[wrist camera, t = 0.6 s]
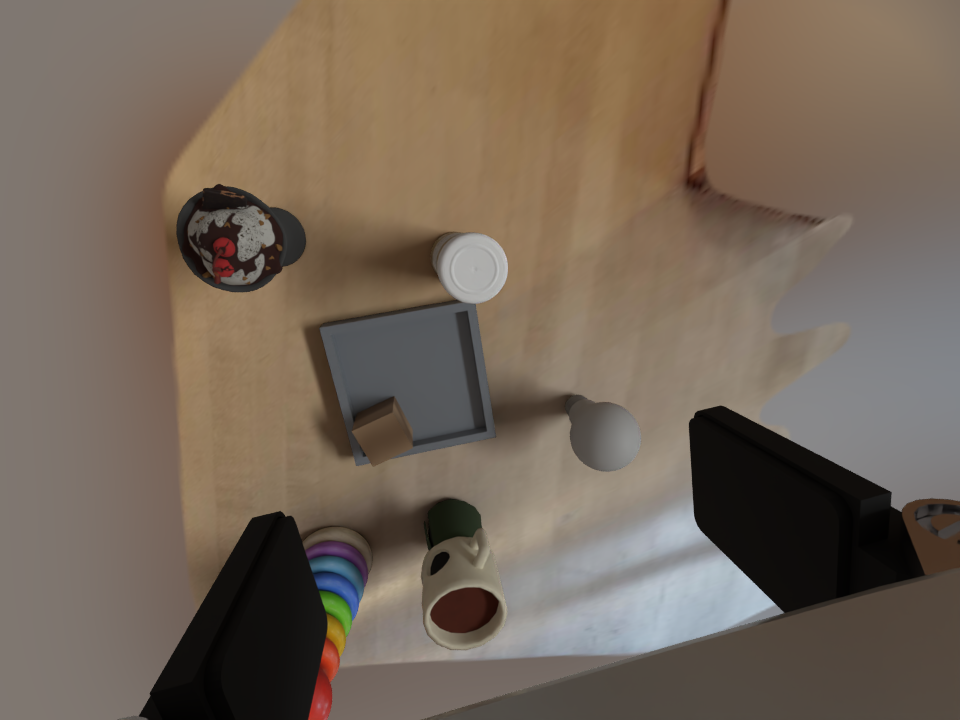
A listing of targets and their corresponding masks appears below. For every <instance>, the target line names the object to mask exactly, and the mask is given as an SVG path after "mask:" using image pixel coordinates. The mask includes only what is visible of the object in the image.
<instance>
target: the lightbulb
mask: <svg viewBox="0 0 960 720" xmlns="http://www.w3.org/2000/svg"><path fill="white" fill-rule="evenodd" d="M565 410H566V412H567V414H568V416H569V419H570V422H571V423H572V425H571V430H570V441H571V445H572V448H573V451H574V453H575V454H576V456H577V457H578V458H579V460H580V461H582V462H583V463H584V464H585V465H587V466H588V467H590V468H592V469H595V470H599V471H606V472H607V471H615V470H619V469H621V468H623V467H625V466H627V465H628V464H629V463H630V462H631V461H632V460H633V459H634V458H635V456H636V455H637V453H638V451H639V448H640V444H641V433H640V428H639V426H638V423H637V421H636V420H635V418H634V417H633V415H632V414H631V413H630V412H629V411H627V410H626V409H625V408H623V407H622V406H620V405H617V404H614V403H610V402H599V403H595V402H593V401H592V400H588V399H587V398H585V397H584V396H582V395H574V396H572V397H570V398H569V399H568V400H567V402H566V405H565Z"/></svg>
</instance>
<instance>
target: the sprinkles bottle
mask: <svg viewBox="0 0 960 720" xmlns="http://www.w3.org/2000/svg"><path fill="white" fill-rule="evenodd" d="M431 264H432V267H433V269H434V271H435V272H436V273H437V274H438V277H439V280H440V282H441V284H442V286H443V287H444V289H445V290H446V291H447V292H448V293H449V294H450V295H451V296H452V297H454V298H455V299H457V300H459V301H461V302H464V303H469V304H477V303H482V302H485V301H488V300H489V299H491V298H493V297H494V296H495V295H496V294H497V293H498V292H499V291H500V290H501V288H502V287H503V285H504V283H505V281H506V278H507V273H508V263H507V258H506V255H505V253H504V251H503V249H502V248H501V246H500V245H499V244H498V243H497V242H496V241H495V240H494V239H492V238H490V237H488V236H486V235H484V234H480V233H474V232H468V233H460V232H450V233H446V234H444V235H442V236H441V237H440V238H439V239H437V241H436V242H435V243H434V245H433V247H432V250H431Z"/></svg>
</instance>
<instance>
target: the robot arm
mask: <svg viewBox="0 0 960 720" xmlns="http://www.w3.org/2000/svg"><path fill="white" fill-rule="evenodd" d="M689 436H690V453H691V470H692V487H693V504H694V517H695V520H696V523H697V525H698V527H699V529H700V530H701V531H702V532H703V533H704V534H705V535H706V536H707V537H708V538H709V539H710V540H711V541H712V542H713V543H714V544H715V545H716V546H717V547H718V548H719V549H720V550H721V551H722V552H723V553H724V554H725V555H726V556H727V557H728V558H729V559H730V560H731V561H732V562H733V563H734V564H735V565H736V566H737V567H738V568H739V569H740V570H741V571H743V572H744V573H745V574H746V575H747V576H748V577H749V578H750V579H751V580H752V581H753V582H754V583H755V584H756V585H757V586H758V587H759V588H760V589H761V590H762V591H763V592H764V593H765V594H766V595H767V596H768V597H769V598H770V599H771V600H772V601H773V602H774V603H775V604H776V605H777V606H778V607H779V608H780V609H781V610H782V611H783V612H784V613H783V614H780V615H777V616H773V617H769V618H766V619H763V620H759V621H756V622H752V623H748V624H745V625H741V626H738V627H735V628H731V629H728V630H724V631H721V632H717V633H714V634H710V635H707V636H703V637H700V638H696V639H693V640H689V641H686V642H682V643H679V644H675V645H672V646H668V647H665V648H662V649H658V650H655V651H651V652H648V653H644V654H641V655H638V656H634V657H631V658H627V659H624V660H620V661H617V662H614V663H611V664H607V665H603V666H600V667H597V668H593V669H590V670H586V671H583V672H580V673H576V674H573V675H569V676H566V677H563V678H559V679H556V680H552V681H549V682H546V683H543V684H539V685H535V686H532V687H529V688H525V689H522V690H518V691H515V692H512V693H508V694H505V695H502V696H499V697H495V698H492V699H488V700H485V701H482V702H479V703H475V704H472V705H468V706H465V707H462V708H458V709H455V710H452V711H449V712H445V713H442V714H439V715H435V716H432V717H428V718H425V719H422V720H960V501H955V500H949V499H933V498H930V499H920V500H915V501H913V502H910V503H907V504H906V505H905V506H904V507H903V509H902V512H900V511H898V510H897V509H895V508H893V507H891V492H890V491H888V490H886V489H884V488H882V487H880V486H878V485H876V484H875V483H872V482H871V481H869V480H867V479H865V478H863V477H861V476H859V475H856V474H855V473H853V472H851V471H849V470H847V469H845V468H843V467H841V466H839V465H837V464H835V463H834V462H832V461H830V460H828V459H826V458H824V457H822V456H820V455H818V454H816V453H814V452H812V451H810V450H808V449H806V448H804V447H802V446H800V445H798V444H796V443H794V442H793V441H791V440H789V439H787V438H785V437H783V436H781V435H779V434H777V433H775V432H773V431H771V430H769V429H767V428H765V427H763V426H761V425H759V424H757V423H755V422H753V421H751V420H750V419H748V418H746V417H744V416H742V415H740V414H738V413H736V412H734V411H732V410H730V409H728V408H726V407H724V406H717V407H713V408H708V409H704V410H700V411H697V412H696V413H695V415H694V418H693V419H691V420H690V422H689ZM327 629H328V621H327V614H326V611H325V608H324V605H323V602H322V599H321V596H320V593H319V590H318V587H317V584H316V581H315V578H314V575H313V572H312V569H311V567H310V564H309V561H308V558H307V555H306V552H305V549H304V546H303V543H302V540H301V537H300V534H299V531H298V528H297V525H296V522H295V520H294V518H293V517H292V516H287V517H285V515H284V514H283V512H281V511H279V512H275V513H271V514H266V515H262V516H258V517H254V518H252V519H251V520H250V522H249V524H248V525H247V527H246V529H245V531H244V532H243V534H242V536H241V537H240V539H239V541H238V543H237V544H236V546H235V548H234V549H233V551H232V553H231V555H230V556H229V558H228V560H227V561H226V563H225V565H224V567H223V568H222V570H221V572H220V573H219V575H218V577H217V579H216V580H215V582H214V584H213V585H212V587H211V589H210V591H209V592H208V594H207V596H206V597H205V599H204V601H203V603H202V604H201V606H200V608H199V609H198V611H197V613H196V615H195V616H194V618H193V620H192V622H191V623H190V625H189V627H188V628H187V630H186V632H185V634H184V635H183V637H182V639H181V641H180V642H179V644H178V646H177V647H176V649H175V651H174V653H173V654H172V656H171V658H170V659H169V661H168V663H167V665H166V666H165V668H164V670H163V671H162V673H161V675H160V676H159V678H158V680H157V682H156V683H155V685H154V687H153V688H152V690H151V692H150V695H151V696H150V698H149V699H148V701H147V703H146V705H145V706H144V708H143V710H142V711H141V713H140V715H139V717H138V716H132V717H127V718H122V719H118V720H308V718H309V714H310V709H311V705H312V700H313V695H314V691H315V686H316V681H317V677H318V672H319V667H320V663H321V658H322V654H323V649H324V644H325V640H326V635H327Z"/></svg>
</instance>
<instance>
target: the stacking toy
mask: <svg viewBox="0 0 960 720" xmlns="http://www.w3.org/2000/svg"><path fill="white" fill-rule="evenodd" d="M302 543H303V546H304V549H305V552H306V555H307V558H308V561H309V564H310V567H311V569H312V572H313V575H314V578H315V581H316V584H317V587H318V590H319V593H320V596H321V599H322V602H323V605H324V608H325V611H326V614H327V621H328V629H327V635H326V640H325V644H324V649H323V654H322V658H321V663H320V667H319V672H318V677H317V681H316V686H315V691H314V695H313V700H312V705H311V709H310V714H309V718H308V720H327V718H328V716H329V713H330V709H331V704H332V688H331V684H330V682H331V680H333V678H334V677H335V675H336V673H337V671H338V668H339V663H340V658H339V657H340V656H341V654H342V653H343V650H344V648H345V643H346V637H347V635H348V633H349V631H350V629H351V625H352V621H353V620H354V618H355V616H356V614H357V611H358V607H359V602H360V601H361V598H362V596H363V591H364V587H365V585H366V583H367V579H368V574H369V572H370V570H371V566H372V552H371V549H370V546H369V544H368V543H367V541H366V540H365V539H364V538H363V537H362V536H361V535H360V534H358V533H357V532H355V531H353V530H351V529H348V528H344V527H328V528H323V529H320V530H318V531H316V532H314V533H312V534H311V535H309V536H308V537H307V538H306V539H305V540H304V541H303V542H302Z"/></svg>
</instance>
